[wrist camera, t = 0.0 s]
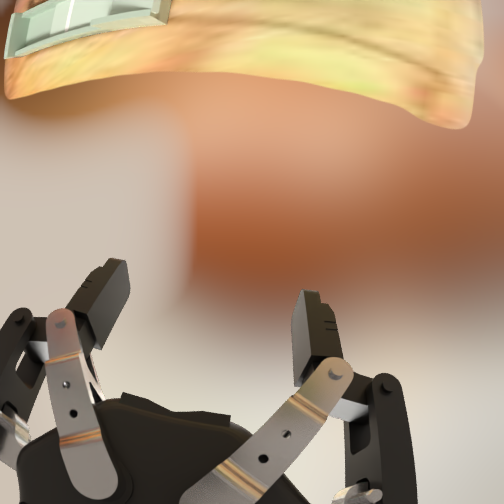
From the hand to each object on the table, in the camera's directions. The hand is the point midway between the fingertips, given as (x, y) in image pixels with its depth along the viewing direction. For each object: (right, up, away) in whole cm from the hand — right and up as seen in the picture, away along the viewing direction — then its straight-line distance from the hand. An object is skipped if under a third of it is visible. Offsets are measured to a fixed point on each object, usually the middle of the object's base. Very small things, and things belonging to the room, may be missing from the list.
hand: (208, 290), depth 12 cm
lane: (-24, +39, +11) cm, 47 cm away
